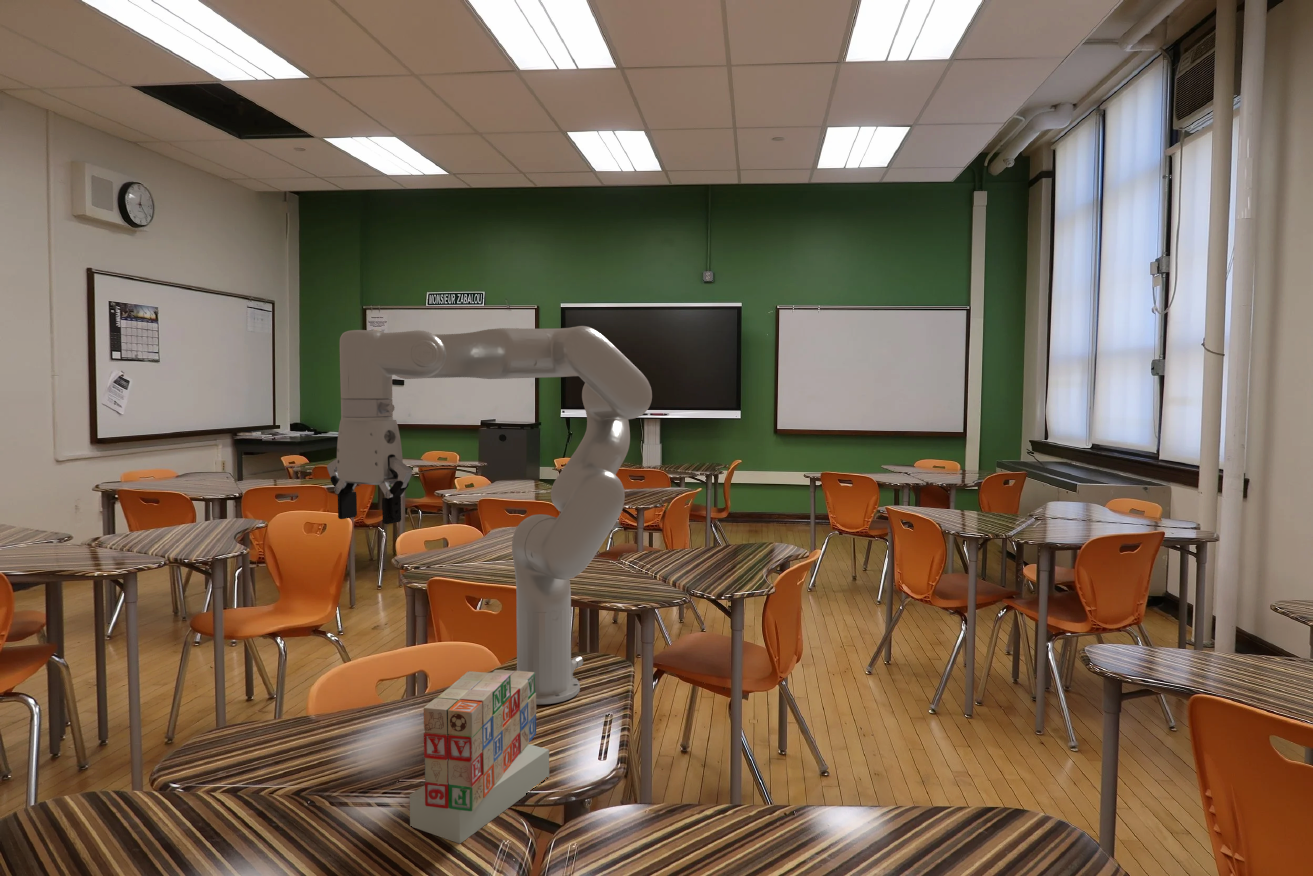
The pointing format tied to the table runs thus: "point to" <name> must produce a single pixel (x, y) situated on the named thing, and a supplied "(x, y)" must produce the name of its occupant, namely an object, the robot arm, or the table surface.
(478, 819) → the base block
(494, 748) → the stack of blocks
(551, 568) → the robot arm
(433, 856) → the table surface
